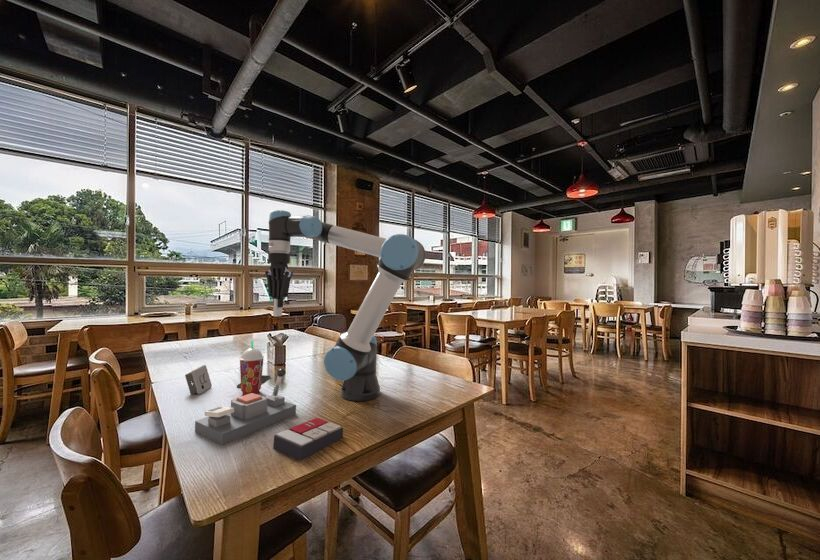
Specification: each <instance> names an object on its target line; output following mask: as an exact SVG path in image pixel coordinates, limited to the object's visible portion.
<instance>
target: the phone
mask: <svg viewBox="0 0 820 560" xmlns="http://www.w3.org/2000/svg"><path fill="white" fill-rule="evenodd" d="M269 379H271V375H265V374H264V375H263V374H262V380H261V385H262V384H263V383H266V382H267V381H268V380H269ZM236 388H237V389H241V382H240V383H238V384H236Z"/></svg>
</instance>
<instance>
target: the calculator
mask: <svg viewBox="0 0 820 560" xmlns="http://www.w3.org/2000/svg"><path fill="white" fill-rule="evenodd" d="M343 437H344V427H342V426H341V425H339V424H336V423H333V422H330V421H329V422H328V421H327V420H325V419H322V418H319V417H316V418H313V419H311V420H307V421H305V422H302V423H300V424H298V425H294V426H292V427H289V429H286V430H283V431H281V432H278V433H276V434H274V435H273V450H275V451H278V452H280V453H282V454H284V455H286V456H288V457H291V458H292V459H295V460H297V461H298V462H299V461H300V462H302V461H304V460H306V459H308V458H309V457H310V456H313V455H314V454H315V453H317V452H319V451H320V450H322V449H325V448H326V447H328V446H330V445H332V444H334V443H335V442H337V441H339V440H341V439H343Z"/></svg>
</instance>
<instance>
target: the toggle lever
mask: <svg viewBox="0 0 820 560" xmlns="http://www.w3.org/2000/svg"><path fill="white" fill-rule="evenodd" d="M276 373H277V378H276V380H275V385H274V388H273V391H272V395H273V396H277V395H279V390H280V387H281V384H282V381H283V377H285V375H286V374H287V372H286V369H284V368H279V369H278V370H277V372H276Z"/></svg>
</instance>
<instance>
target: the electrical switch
mask: <svg viewBox="0 0 820 560" xmlns="http://www.w3.org/2000/svg"><path fill="white" fill-rule="evenodd" d="M207 367H208V366H207V365H206V364H204V365H200V366H199V367H197V368H195V369H193V370H191V371H190V372H188V373H186V374H185V376H184V377H185V380H186V383H187V386H188V389H189V390H188V391H189V393H190V395H194V394H196V395H201V394H203V393H204V392H206V391H207V390H208V389H210V388H212V386H213V385H212V381H211V379H210V373H209V372H208V371H209V370H208V368H207Z"/></svg>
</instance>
